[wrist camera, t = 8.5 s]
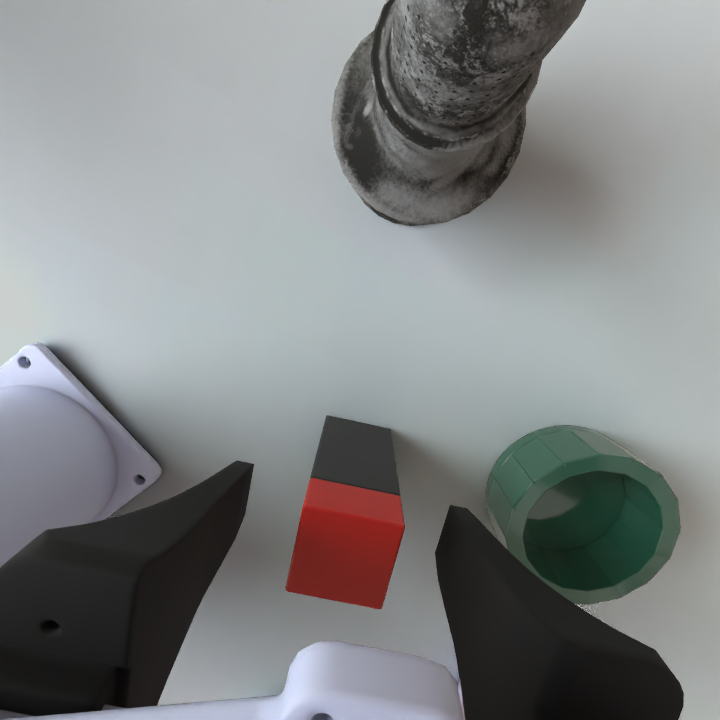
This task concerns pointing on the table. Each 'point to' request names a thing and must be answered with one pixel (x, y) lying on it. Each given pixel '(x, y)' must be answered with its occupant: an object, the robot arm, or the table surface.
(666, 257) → the table surface
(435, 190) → the salt shaker
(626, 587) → the green open cup
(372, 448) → the red-capped grey block
